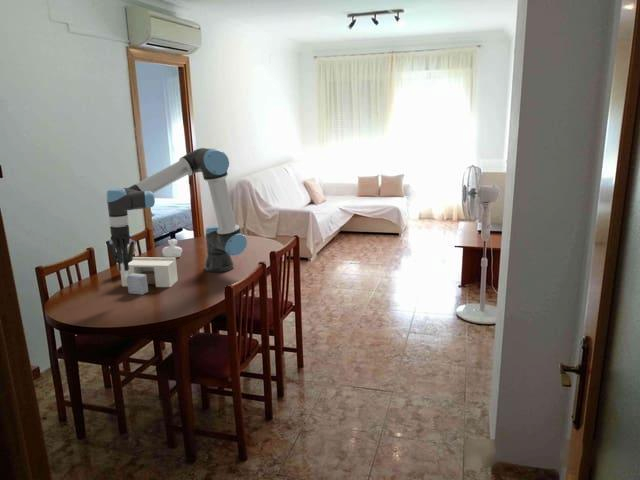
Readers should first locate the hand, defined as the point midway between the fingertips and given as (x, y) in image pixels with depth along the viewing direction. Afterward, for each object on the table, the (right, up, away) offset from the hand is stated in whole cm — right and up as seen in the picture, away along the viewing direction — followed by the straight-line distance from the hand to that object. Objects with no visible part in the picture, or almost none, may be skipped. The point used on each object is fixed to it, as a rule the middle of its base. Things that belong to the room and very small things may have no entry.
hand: (124, 277), depth 220 cm
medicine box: (+1, -8, +13) cm, 15 cm away
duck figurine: (+1, +7, +71) cm, 71 cm away
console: (+3, -5, +25) cm, 26 cm away
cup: (-15, -2, +40) cm, 42 cm away
